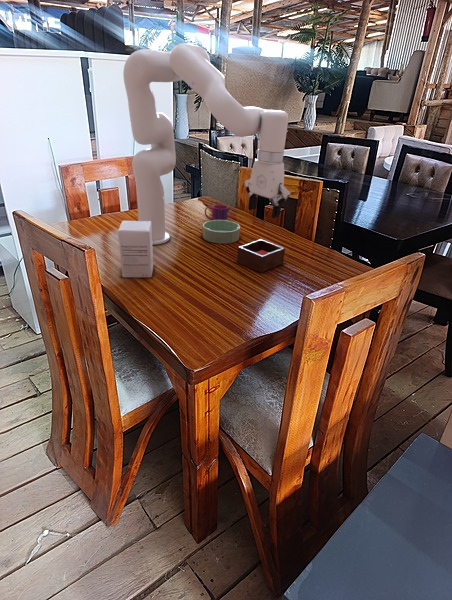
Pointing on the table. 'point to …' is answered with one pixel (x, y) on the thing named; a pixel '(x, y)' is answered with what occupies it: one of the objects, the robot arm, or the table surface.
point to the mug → (219, 212)
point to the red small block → (262, 252)
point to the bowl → (221, 231)
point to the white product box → (136, 248)
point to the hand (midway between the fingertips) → (263, 213)
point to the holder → (260, 261)
